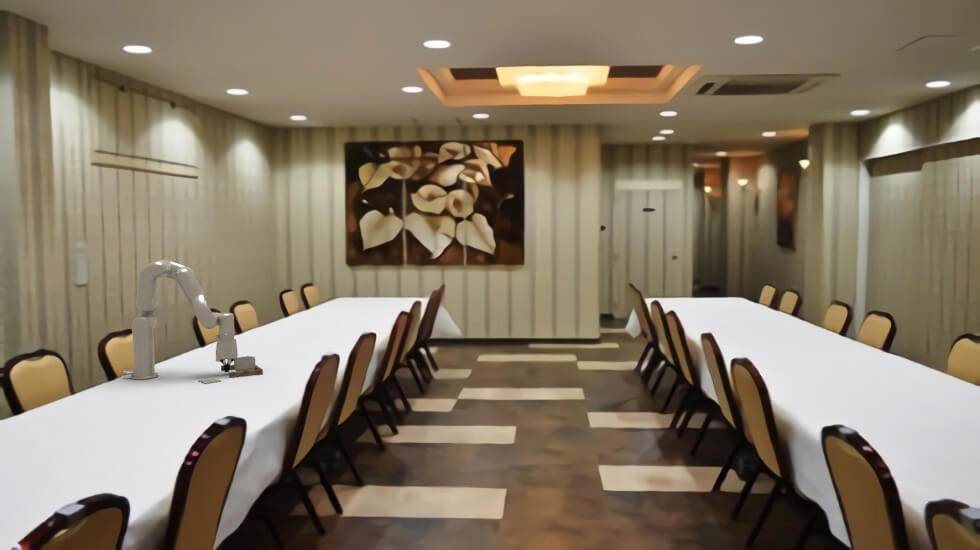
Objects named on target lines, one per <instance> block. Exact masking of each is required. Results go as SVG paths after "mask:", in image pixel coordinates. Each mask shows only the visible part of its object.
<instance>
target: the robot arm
mask: <svg viewBox="0 0 980 550" xmlns="http://www.w3.org/2000/svg"><path fill="white" fill-rule="evenodd" d="M138 276H139V277H138V283H137V291H136V299H135V307H136V309H137V311H138V312H137V316H136V317H135V318H134V319H133V321H132V323H131V333H132V347H133V348H132V349H133V351H132V352H133V367H132V368H131V369H130V370H123V375H128V376H129V375H130V379H133V380H149V379H154V378H157V377H158V376H159V372H156V367H155V366H156V365H155V335H154V334H155V333H154V329H155V328H156V327H157V324H158V319H159V312H160V311H159V310H160V307H159V306H160V299H159V296H158V295H157V287H158V284H157V283H158V280H159V279H160V278H167V279H171V280H174V281H175V282H176V283H177V284H178V286H179V288H180V289H181V290H182V293H183V294H184V296H185V298H186V300H187V301H188V303H189V306H190V307H191V309H192V312H193V313H194V315H195V317H196V319H197V320H198V322H199V323H200V325H201V327H203V328H204V329H207V330H212V329H214V328H215V327H218V334H216V335H215V338H216V339H217V340H216V347H215V362H219V363H221V364H223V365H222V366H223V370H224V373H229V372H230V371H231V370H230V365H232V363H234V360H237V359H238V357H239V355H238V344H237V343H238V342H237V339H236V338H235V315H234V313H232V312H213V311H212V310H211V308H210V307H209V305H208V303H207V300H206V294H205V292H204V289H203V288H202V286H201V285H200V284H199V281H198V280H197V278H196V274H195V271H194V269H193V268H191V267H189V266H187V265H182V264H179V263H177V262H174V261H170V260H167V259H160V260H156V261H153V262H151V263H148V264H147V265H145V266H144V267H143V268H142V269H141V270H140V273H139V275H138ZM233 359H234V360H233ZM226 360H227V361H226Z"/></svg>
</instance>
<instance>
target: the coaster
mask: <svg viewBox="0 0 980 550" xmlns="http://www.w3.org/2000/svg"><path fill="white" fill-rule="evenodd" d="M200 382H201V384H204V385H209V384H215V383H216V384H217V383H221V382H222V380H221V379H218V378H216V377H210V378H204V379H203V378H202V379H198V380H197V383H200Z"/></svg>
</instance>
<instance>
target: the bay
mask: <svg viewBox="0 0 980 550" xmlns="http://www.w3.org/2000/svg"><path fill="white" fill-rule="evenodd" d="M263 370H264V369H263V368H262V367H259V366H258V365H257V364H255V369H254V370H248V371H237V372H236V371H235V368H234V364H230V370H229V372H228V378H231V379H232V378H239V377H240V378H241V377H250V376H261V375H264V371H263ZM220 371H221V372H223V371H224V370H223V365H220ZM224 372H225V371H224Z"/></svg>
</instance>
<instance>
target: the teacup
mask: <svg viewBox="0 0 980 550" xmlns="http://www.w3.org/2000/svg"><path fill="white" fill-rule="evenodd" d="M237 358H238V359H237V360H234V359H233V360H234V361H233V365H234V368H235V370H234V372H237V371H248V370H254V369H255V365H256V356H252V355H246V356H237Z"/></svg>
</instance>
